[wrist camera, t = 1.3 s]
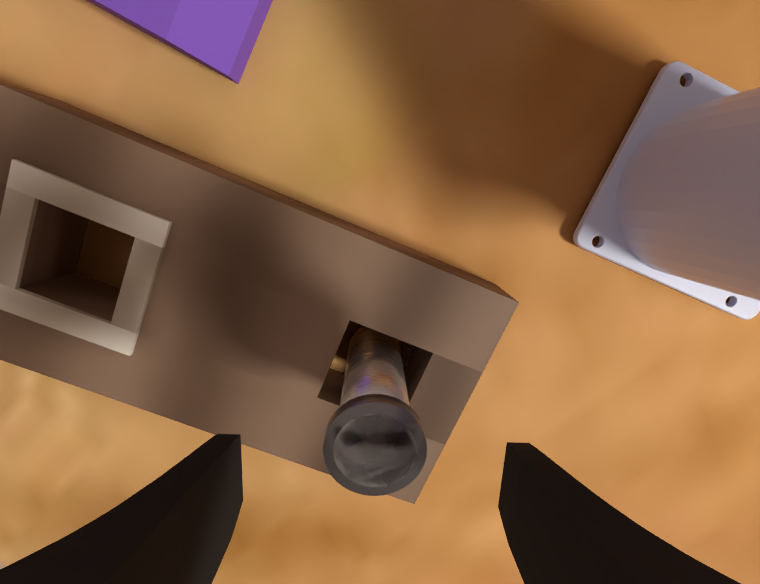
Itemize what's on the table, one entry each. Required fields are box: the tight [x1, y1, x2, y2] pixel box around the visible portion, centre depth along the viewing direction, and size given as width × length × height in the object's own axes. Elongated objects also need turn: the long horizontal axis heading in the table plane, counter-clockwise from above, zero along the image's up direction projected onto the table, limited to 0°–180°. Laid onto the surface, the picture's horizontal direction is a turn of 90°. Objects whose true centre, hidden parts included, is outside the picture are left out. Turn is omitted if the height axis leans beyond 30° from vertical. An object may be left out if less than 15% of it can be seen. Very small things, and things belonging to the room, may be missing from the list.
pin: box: [323, 326, 427, 496], centre depth 16 cm, size 3×3×8 cm
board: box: [0, 84, 519, 504], centre depth 17 cm, size 20×10×3 cm, turn 67°
